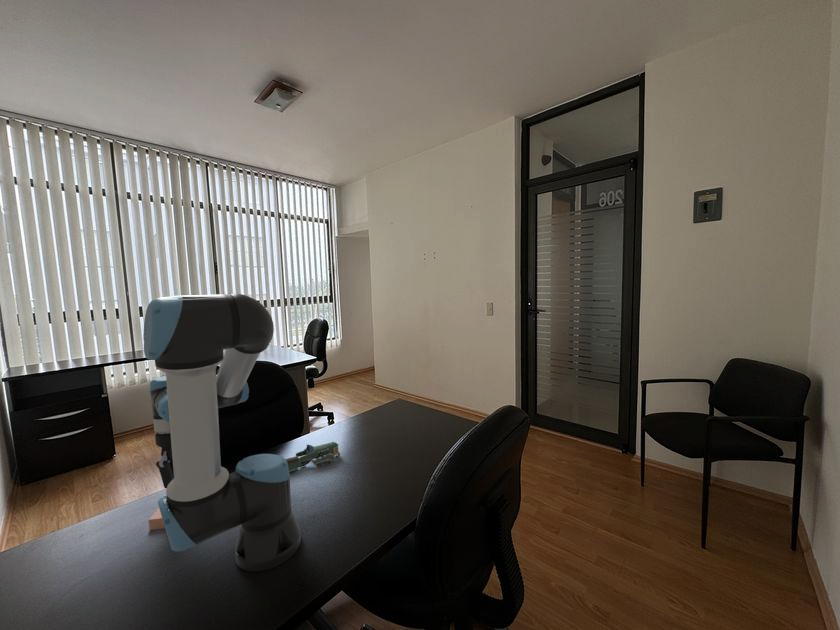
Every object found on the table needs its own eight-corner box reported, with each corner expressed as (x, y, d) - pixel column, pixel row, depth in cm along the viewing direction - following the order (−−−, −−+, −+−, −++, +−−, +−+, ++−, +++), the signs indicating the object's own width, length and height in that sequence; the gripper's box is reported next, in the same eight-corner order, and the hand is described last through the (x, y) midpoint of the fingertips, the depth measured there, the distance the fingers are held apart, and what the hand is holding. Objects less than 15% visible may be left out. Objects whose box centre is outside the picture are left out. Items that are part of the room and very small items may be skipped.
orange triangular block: (173, 527, 97) (172, 517, 97) (149, 530, 96) (148, 519, 96) (187, 508, 105) (186, 499, 105) (165, 511, 104) (164, 501, 104)
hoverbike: (344, 462, 131) (343, 440, 130) (273, 485, 117) (271, 461, 116) (335, 452, 139) (333, 431, 138) (267, 473, 125) (265, 450, 124)
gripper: (172, 437, 97) (180, 517, 100) (195, 419, 110) (201, 490, 112) (142, 439, 96) (151, 520, 98) (169, 421, 109) (176, 493, 111)
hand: (178, 504), depth 105 cm, fingers closed
